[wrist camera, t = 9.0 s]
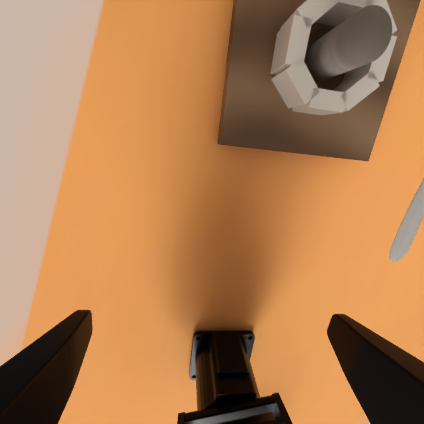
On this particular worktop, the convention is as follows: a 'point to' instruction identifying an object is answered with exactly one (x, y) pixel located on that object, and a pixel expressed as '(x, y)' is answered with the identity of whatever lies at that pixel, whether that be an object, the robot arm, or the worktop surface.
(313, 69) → the peg stand
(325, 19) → the ring
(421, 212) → the butter knife
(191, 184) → the worktop surface
